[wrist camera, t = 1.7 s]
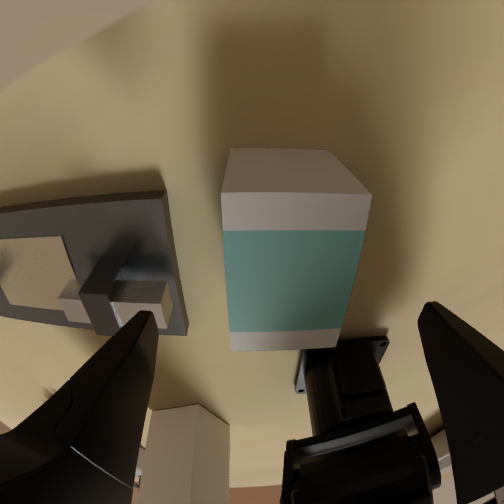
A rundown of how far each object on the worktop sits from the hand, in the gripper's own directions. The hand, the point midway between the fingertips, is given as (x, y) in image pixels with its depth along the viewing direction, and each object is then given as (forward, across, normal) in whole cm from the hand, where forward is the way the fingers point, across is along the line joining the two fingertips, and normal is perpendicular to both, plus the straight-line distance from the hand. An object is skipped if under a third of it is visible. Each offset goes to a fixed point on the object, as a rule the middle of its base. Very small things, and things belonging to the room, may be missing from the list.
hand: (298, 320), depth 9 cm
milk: (+7, +8, +22) cm, 25 cm away
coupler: (+7, 0, 0) cm, 7 cm away
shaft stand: (+7, +16, +3) cm, 17 cm away
